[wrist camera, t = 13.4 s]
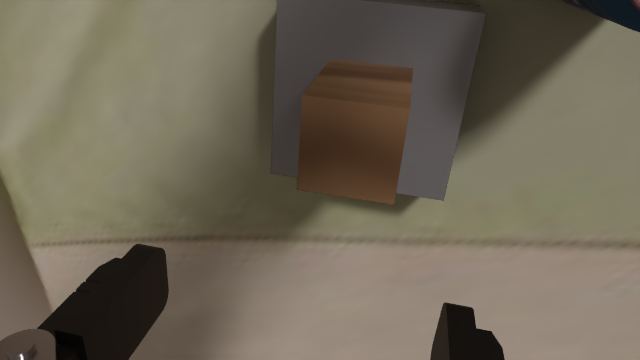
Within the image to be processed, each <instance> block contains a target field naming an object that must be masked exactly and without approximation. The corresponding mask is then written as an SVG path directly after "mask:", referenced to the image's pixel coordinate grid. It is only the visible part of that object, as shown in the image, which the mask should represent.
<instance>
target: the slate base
mask: <svg viewBox="0 0 640 360" xmlns="http://www.w3.org/2000/svg"><path fill="white" fill-rule="evenodd" d="M485 17H486V13H485V12H484V11H483V9H482V8H481V7H480V6H479V5H471V4H461V3H452V2H442V1H433V0H277V17H276V44H275V72H274V99H273V127H272V154H271V173H273V174H279V175H285V176H291V177H297V176H298V159H299V141H300V124H301V106H302V95H303V93H304V92H305V91H306V90H307V88H308V87H309V86H310V85H311V83H312V82H313V81H314V80H315V78H316V77H317V76H318V74H319V73H320V72H321V71H322V69H323V68H324V67H325V66H326V64H327V63H328V62H329V61H330V59H338V60H347V61H355V62H364V63H372V64H381V65H389V66H398V67H406V68H413V76H412V90H411V104H410V113H409V119H408V125H407V131H406V137H405V143H404V149H403V155H402V161H401V167H400V173H399V179H398V185H397V191H396V193H398V194H404V195H411V196H417V197H423V198H429V199H436V200H442V201H444V197H445V193H446V188H447V184H448V180H449V175H450V171H451V166H452V162H453V158H454V153H455V149H456V145H457V140H458V136H459V131H460V127H461V123H462V118H463V114H464V109H465V105H466V101H467V96H468V92H469V87H470V83H471V79H472V74H473V70H474V65H475V61H476V57H477V52H478V48H479V44H480V39H481V35H482V30H483V26H484V22H485Z"/></svg>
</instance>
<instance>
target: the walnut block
mask: <svg viewBox="0 0 640 360" xmlns="http://www.w3.org/2000/svg"><path fill="white" fill-rule="evenodd" d="M412 76H413V68H406V67H398V66H389V65H381V64H372V63H364V62H355V61H347V60H338V59H330V61H329V62H328V63H327V64H326V66H325V67H324V68H323V69H322V71H321V72H320V73H319V74H318V76H317V77H316V78H315V80H314V81H313V82H312V83H311V85H310V86H309V87H308V88H307V90H306V91H305V92H304V93H303V95H302V106H301V124H300V141H299V159H298V176H297V190H303V191H309V192H315V193H322V194H328V195H335V196H341V197H347V198H354V199H360V200H367V201H373V202H379V203H386V204H392V205H394V203H395V197H396V191H397V185H398V179H399V173H400V167H401V161H402V155H403V149H404V143H405V137H406V131H407V125H408V119H409V113H410V104H411V90H412Z"/></svg>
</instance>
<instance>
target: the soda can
mask: <svg viewBox="0 0 640 360" xmlns="http://www.w3.org/2000/svg"><path fill="white" fill-rule="evenodd" d="M564 1H565V2H567V3H569V4H571V5H573V6H575V7H578V8H580V9H583V10H585V11H588V12H590V13H592V14H595V15H597V16H600V17H602V18H605V19H607V20H610V21H612V22H615V23H617V24H620V25H622V26H624V27H627V28H629V29H632V30H635V31H638V32H640V0H564Z"/></svg>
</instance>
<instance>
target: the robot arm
mask: <svg viewBox="0 0 640 360" xmlns="http://www.w3.org/2000/svg"><path fill="white" fill-rule="evenodd" d="M168 291H169V290H168V277H167V265H166V254H165V251H164V249H162V248H158V247H153V246H147V245H142V244H136V245H134V246H133V247H132V248H131V249H130V250H129V252H128V253H127V254H126V255H125V256H124V257H123V258H122V259H120V258H114V259H112V260H110V261H109V262H107V263H105V264H103V265H101V266H99V267H98V268H97V269H96V270H95V271H94V272H93V273H92V274H91V275H90V276H89V277H88V278H87V279H86V282H83V283H82V284H81V285H80V286H79V287H78V288H77V289H76V292H73V293H72V294H71V295H70V296H69V297H68V298H67V299H66V300H65V301H64V302H63V303H62V304H61V305H60V306H59V307H58V308H57V309H56V310H55V311H54V312H53V313H52V314H51V315H50V316H49V317H48V318H47V319H46V320H45V321H44V322H43V323H42V324H41V325H40V326H39V327H38V328H37V329H28V330H23V331H19V332H16V333H14V334H11V335H9V336H7V337H5V338H4V339H2V340H1V341H0V360H128V359H129V358H130V356H131V355H132V354H133V352H134V351H135V349H136V348H137V346H138V345H139V344H140V342H141V341H142V339H143V338H144V337H145V335H146V334H147V332H148V331H149V329H150V328H151V327H152V325H153V324H154V322H155V321H156V320H157V318H158V317H159V315H160V314H161V312H162V311H163V309H164V307H165V305H166V302H167V298H168ZM431 360H505V359H504V354H503V349H502V347H501V345H500V344H499V342H498V341H497V339H496V338H495V336H494V335H493V333H492V332H491V331H487V330H482V329H477V328H476V324H475V316H474V310H473V308H472V307H466V306H461V305H456V304H450V303H444V304H443V307H442V310H441V314H440V318H439V322H438V326H437V329H436V333H435V337H434V341H433V345H432V351H431Z"/></svg>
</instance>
